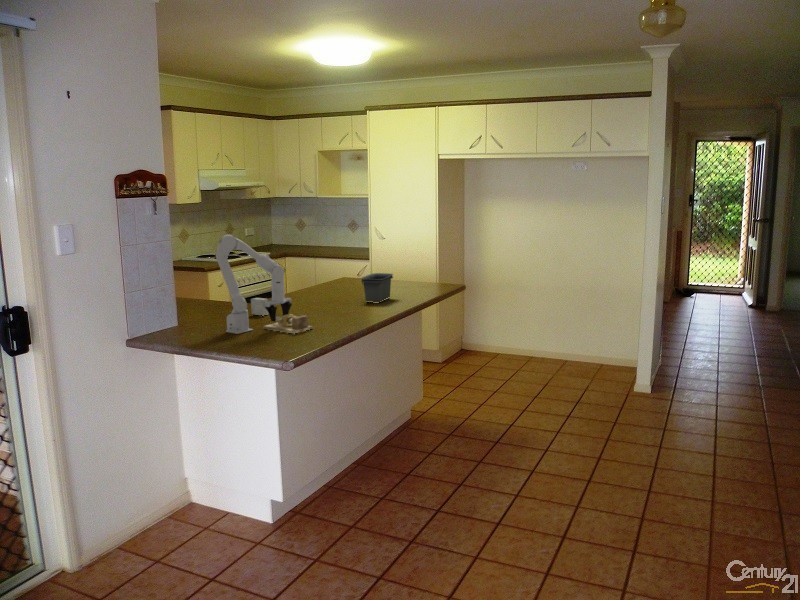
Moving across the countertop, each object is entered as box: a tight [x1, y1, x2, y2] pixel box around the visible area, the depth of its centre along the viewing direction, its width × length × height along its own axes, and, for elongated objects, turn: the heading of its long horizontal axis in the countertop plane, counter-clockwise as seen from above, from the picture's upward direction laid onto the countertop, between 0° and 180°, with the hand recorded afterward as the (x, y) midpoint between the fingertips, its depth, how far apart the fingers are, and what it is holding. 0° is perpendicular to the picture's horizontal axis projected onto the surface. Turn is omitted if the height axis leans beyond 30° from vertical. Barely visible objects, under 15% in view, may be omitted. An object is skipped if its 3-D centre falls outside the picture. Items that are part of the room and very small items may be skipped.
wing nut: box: [277, 313, 298, 327], centre depth 308 cm, size 11×3×5 cm, turn 144°
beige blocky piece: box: [262, 315, 314, 335], centre depth 308 cm, size 12×20×7 cm, turn 54°
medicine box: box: [250, 297, 269, 317], centre depth 341 cm, size 8×4×9 cm, turn 59°
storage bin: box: [360, 272, 394, 302], centre depth 377 cm, size 21×16×14 cm
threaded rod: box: [275, 315, 292, 323], centre depth 308 cm, size 2×16×2 cm, turn 54°
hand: (279, 319), depth 311 cm, fingers open, 7 cm apart
